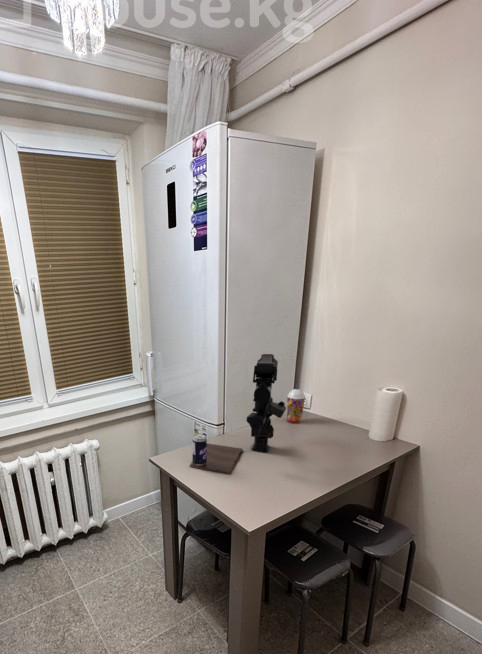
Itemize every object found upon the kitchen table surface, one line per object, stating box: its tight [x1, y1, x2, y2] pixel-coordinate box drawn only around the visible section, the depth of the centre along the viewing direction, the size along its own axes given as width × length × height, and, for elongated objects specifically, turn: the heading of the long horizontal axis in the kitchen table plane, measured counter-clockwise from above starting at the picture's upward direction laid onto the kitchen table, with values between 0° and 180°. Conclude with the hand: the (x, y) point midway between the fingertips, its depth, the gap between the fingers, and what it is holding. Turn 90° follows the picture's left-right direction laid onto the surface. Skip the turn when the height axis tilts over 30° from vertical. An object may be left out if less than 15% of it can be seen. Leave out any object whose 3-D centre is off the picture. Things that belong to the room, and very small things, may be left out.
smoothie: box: [286, 383, 306, 424], centre depth 181 cm, size 8×8×20 cm
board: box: [189, 442, 243, 475], centre depth 150 cm, size 22×16×1 cm
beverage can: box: [191, 433, 208, 466], centre depth 143 cm, size 6×6×12 cm
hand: (260, 433), depth 141 cm, fingers open, 9 cm apart
